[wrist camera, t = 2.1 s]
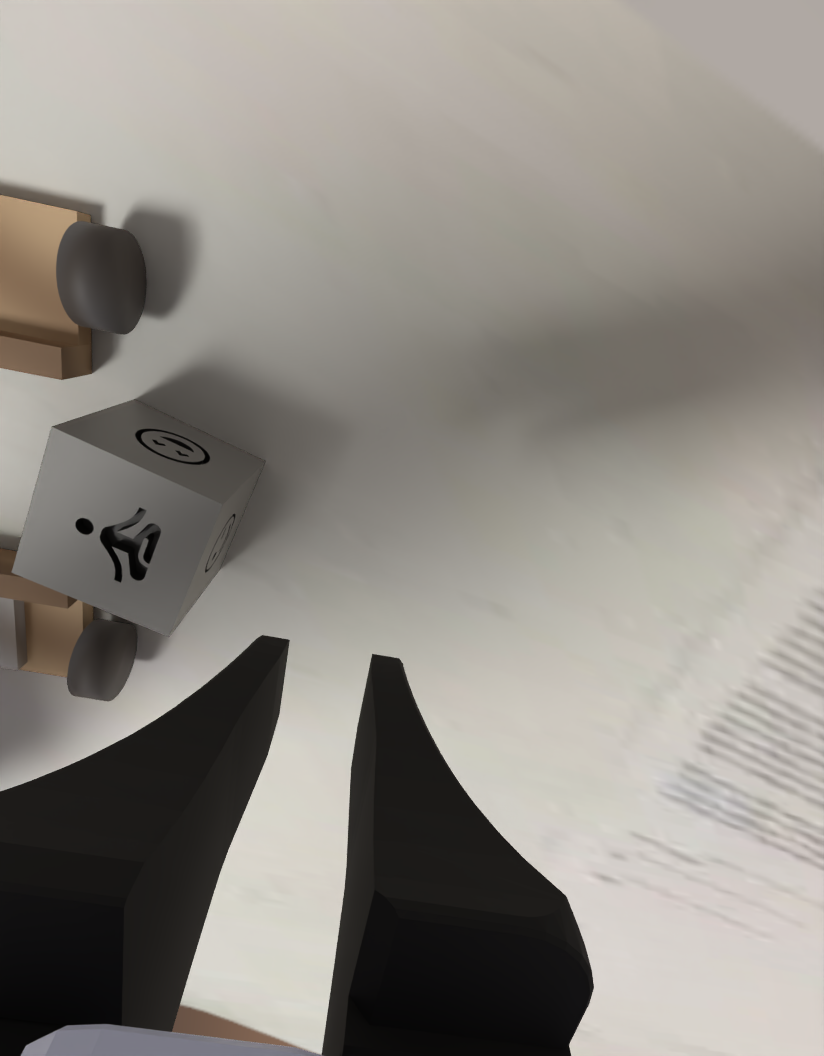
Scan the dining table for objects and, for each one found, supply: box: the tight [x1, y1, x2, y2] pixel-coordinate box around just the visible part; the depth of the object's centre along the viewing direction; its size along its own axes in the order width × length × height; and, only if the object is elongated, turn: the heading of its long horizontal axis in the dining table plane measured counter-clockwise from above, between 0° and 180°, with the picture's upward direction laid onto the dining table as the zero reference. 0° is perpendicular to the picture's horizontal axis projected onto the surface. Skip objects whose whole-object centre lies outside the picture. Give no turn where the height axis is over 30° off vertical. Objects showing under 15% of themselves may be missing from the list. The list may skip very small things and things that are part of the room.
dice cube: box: [12, 399, 265, 637], centre depth 19 cm, size 5×5×5 cm
